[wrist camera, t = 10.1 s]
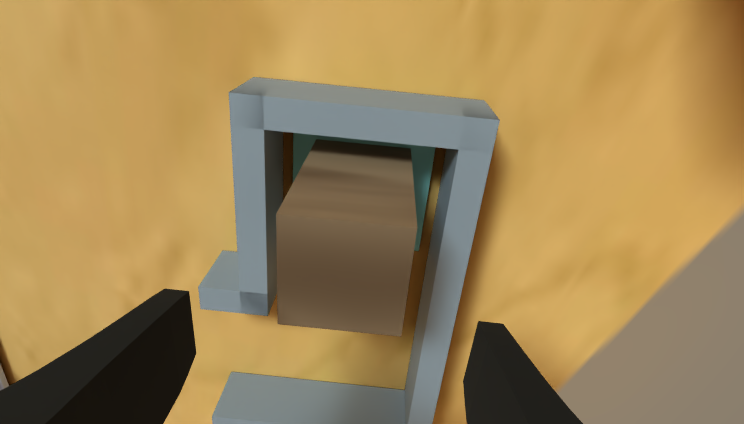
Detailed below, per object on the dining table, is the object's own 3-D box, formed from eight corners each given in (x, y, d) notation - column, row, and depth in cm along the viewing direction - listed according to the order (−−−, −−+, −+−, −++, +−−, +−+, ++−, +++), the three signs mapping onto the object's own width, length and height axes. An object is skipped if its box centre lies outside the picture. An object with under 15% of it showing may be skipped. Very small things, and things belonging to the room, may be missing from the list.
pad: (418, 247, 21) (418, 251, 21) (293, 235, 21) (292, 238, 21) (438, 125, 19) (438, 127, 18) (294, 110, 19) (293, 112, 18)
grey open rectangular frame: (422, 406, 26) (425, 454, 23) (232, 386, 26) (213, 431, 24) (484, 100, 18) (499, 120, 15) (209, 72, 18) (177, 87, 15)
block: (400, 230, 21) (401, 336, 14) (314, 222, 21) (277, 323, 14) (410, 148, 19) (417, 228, 13) (316, 138, 19) (275, 214, 13)
